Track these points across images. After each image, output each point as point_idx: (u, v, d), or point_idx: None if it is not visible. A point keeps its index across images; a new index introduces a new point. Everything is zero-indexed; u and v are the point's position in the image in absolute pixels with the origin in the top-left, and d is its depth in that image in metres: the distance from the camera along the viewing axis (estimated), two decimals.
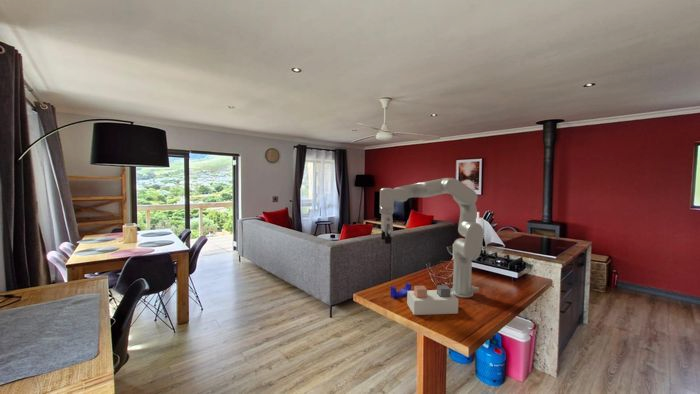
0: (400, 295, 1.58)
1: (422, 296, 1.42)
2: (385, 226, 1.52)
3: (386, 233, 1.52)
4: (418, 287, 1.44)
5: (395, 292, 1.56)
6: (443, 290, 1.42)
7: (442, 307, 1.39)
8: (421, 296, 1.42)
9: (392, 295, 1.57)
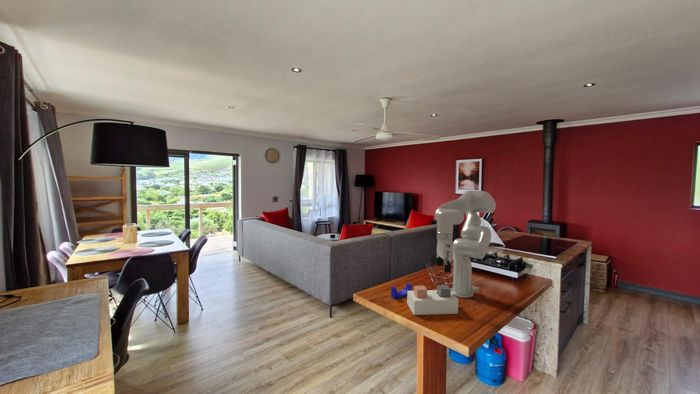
0: (401, 295, 1.58)
1: (422, 296, 1.42)
2: (445, 253, 1.39)
3: (446, 261, 1.38)
4: (418, 287, 1.44)
5: (396, 292, 1.56)
6: (443, 290, 1.42)
7: (442, 307, 1.39)
8: (421, 296, 1.42)
9: (393, 295, 1.57)
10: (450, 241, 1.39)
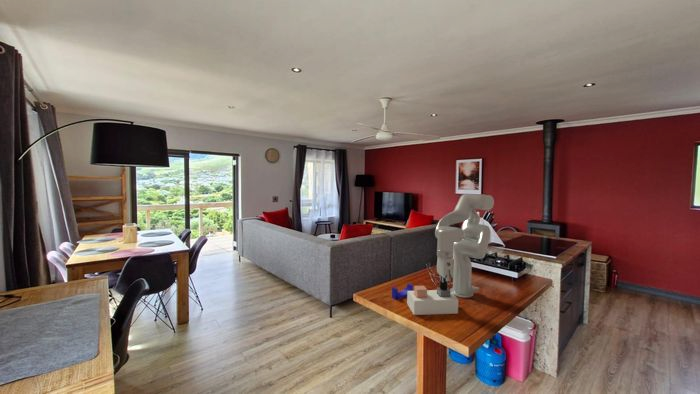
0: (401, 296, 1.57)
1: (422, 296, 1.42)
2: (444, 276, 1.40)
3: (443, 280, 1.42)
4: (418, 287, 1.44)
5: (396, 293, 1.55)
6: (443, 292, 1.42)
7: (442, 307, 1.39)
8: (421, 296, 1.42)
9: (393, 296, 1.56)
10: (450, 259, 1.39)
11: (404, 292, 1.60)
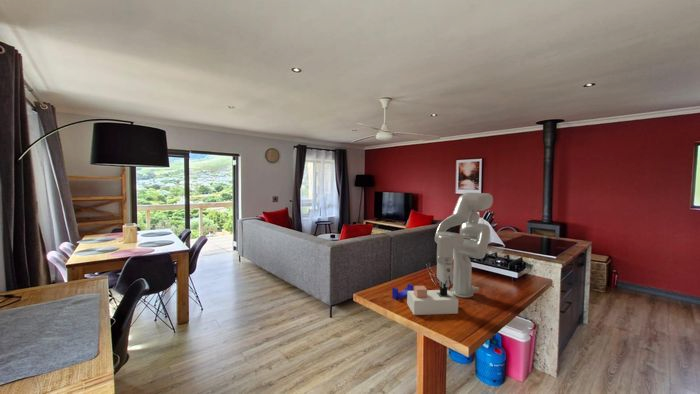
0: (402, 296, 1.57)
1: (422, 296, 1.42)
2: (444, 282, 1.40)
3: (443, 286, 1.43)
4: (418, 287, 1.44)
5: (397, 293, 1.55)
6: None
7: (442, 307, 1.39)
8: (421, 296, 1.42)
9: (394, 296, 1.56)
10: (450, 265, 1.39)
11: (404, 292, 1.60)
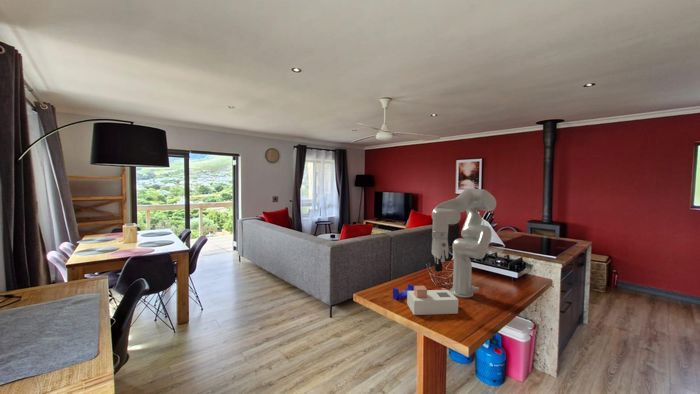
0: (402, 296, 1.57)
1: (422, 296, 1.42)
2: (439, 257, 1.39)
3: (438, 261, 1.41)
4: (418, 287, 1.44)
5: (397, 293, 1.55)
6: None
7: (442, 307, 1.39)
8: (421, 296, 1.42)
9: (394, 296, 1.55)
10: (445, 240, 1.38)
11: (405, 292, 1.60)
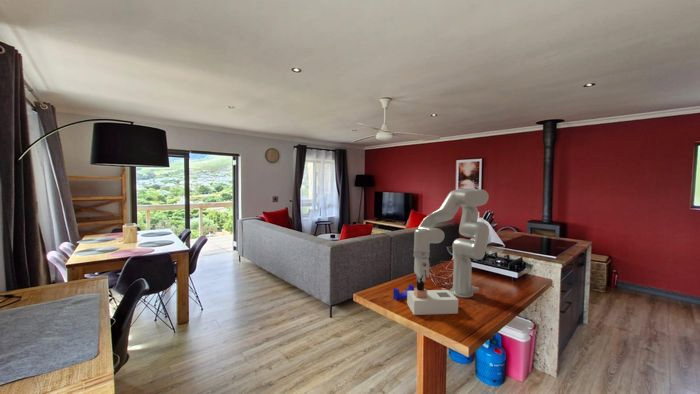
0: (403, 297, 1.56)
1: None
2: (420, 276, 1.39)
3: (419, 280, 1.41)
4: None
5: (398, 294, 1.54)
6: None
7: (442, 307, 1.39)
8: None
9: (395, 297, 1.55)
10: (426, 260, 1.38)
11: (406, 293, 1.59)
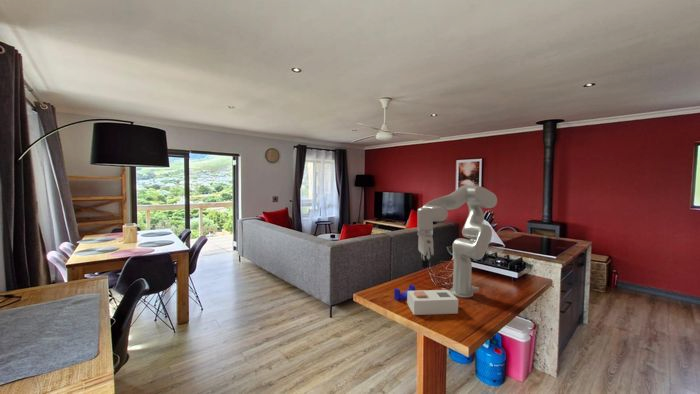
0: (404, 297, 1.56)
1: None
2: None
3: (424, 258, 1.44)
4: (418, 293, 1.44)
5: (399, 294, 1.54)
6: None
7: (442, 307, 1.39)
8: None
9: (396, 297, 1.54)
10: (430, 237, 1.41)
11: (406, 293, 1.59)
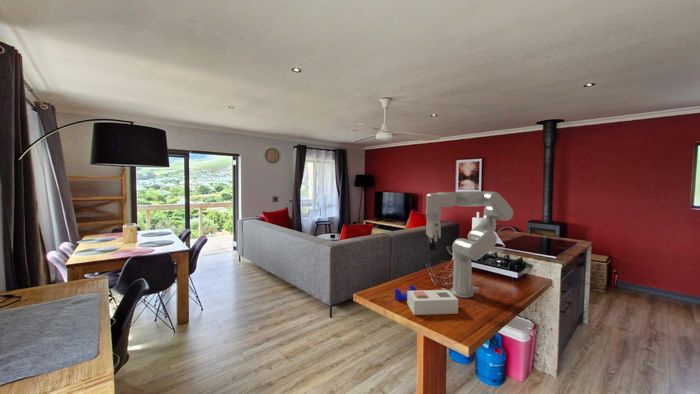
0: (404, 298, 1.55)
1: None
2: (432, 236, 1.50)
3: (432, 240, 1.53)
4: (418, 293, 1.44)
5: (399, 295, 1.53)
6: None
7: (442, 307, 1.39)
8: None
9: (396, 298, 1.54)
10: (438, 221, 1.50)
11: None
